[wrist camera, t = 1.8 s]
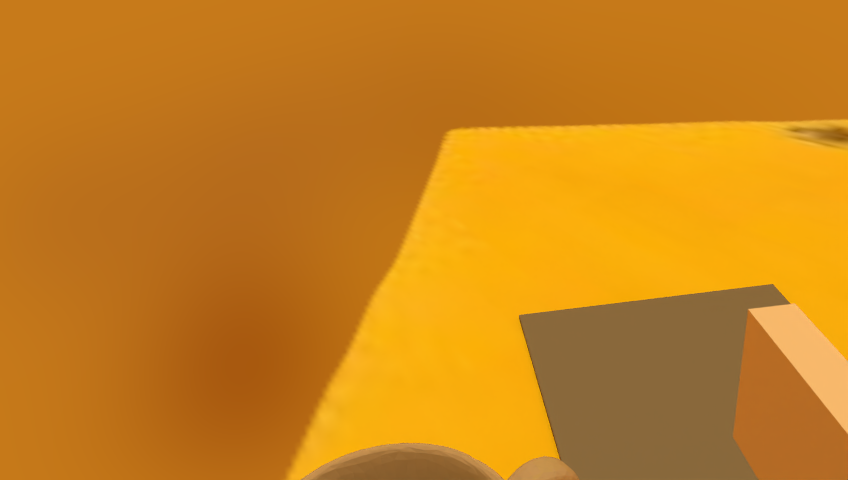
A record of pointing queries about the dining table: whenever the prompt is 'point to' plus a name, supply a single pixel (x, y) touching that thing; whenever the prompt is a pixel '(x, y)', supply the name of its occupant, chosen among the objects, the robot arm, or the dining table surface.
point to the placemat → (647, 384)
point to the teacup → (430, 466)
